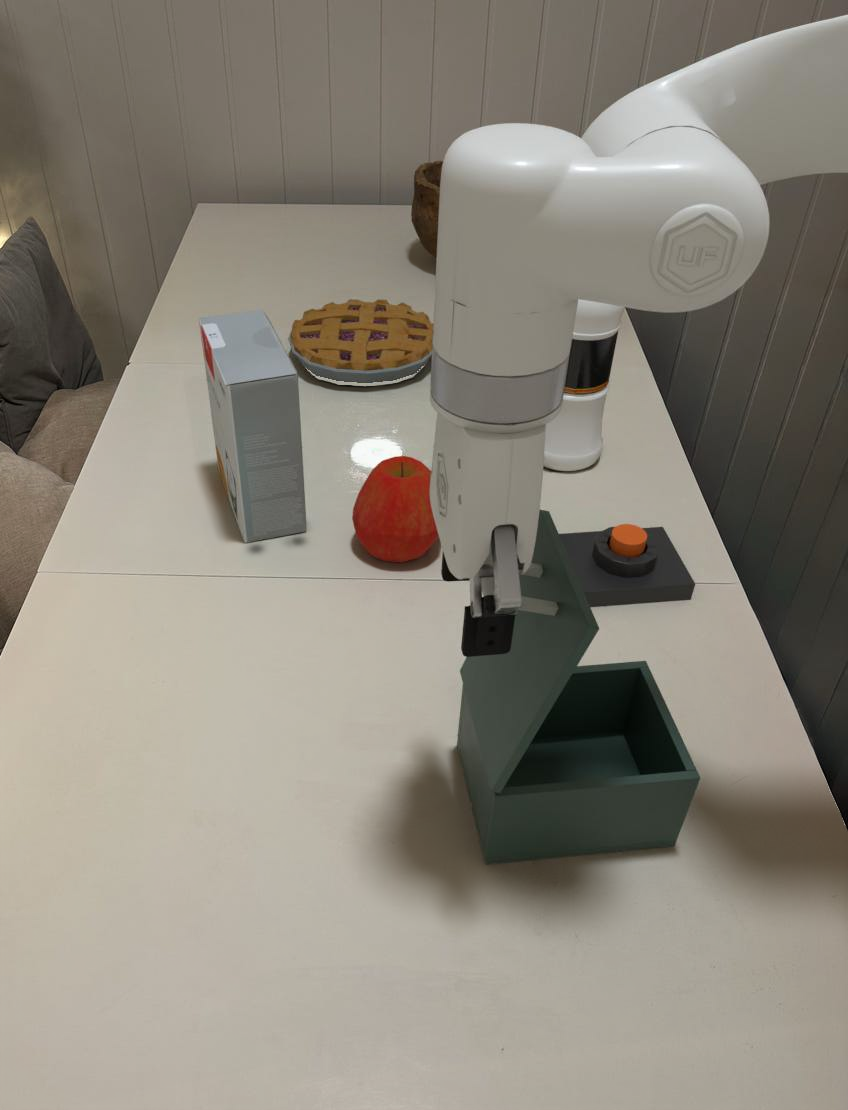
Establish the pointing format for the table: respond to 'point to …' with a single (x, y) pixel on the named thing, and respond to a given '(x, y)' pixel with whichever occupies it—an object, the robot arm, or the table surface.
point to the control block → (628, 569)
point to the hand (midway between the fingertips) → (474, 612)
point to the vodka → (584, 389)
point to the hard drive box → (255, 423)
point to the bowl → (427, 204)
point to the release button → (628, 540)
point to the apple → (396, 510)
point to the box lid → (529, 656)
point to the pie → (363, 341)
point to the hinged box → (587, 773)
